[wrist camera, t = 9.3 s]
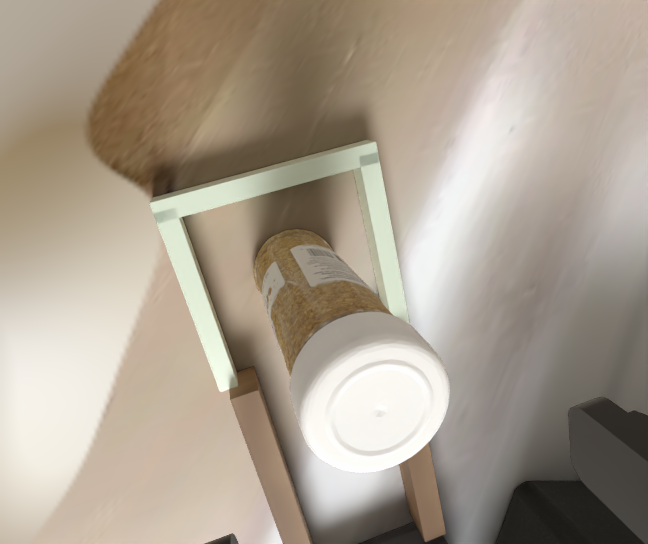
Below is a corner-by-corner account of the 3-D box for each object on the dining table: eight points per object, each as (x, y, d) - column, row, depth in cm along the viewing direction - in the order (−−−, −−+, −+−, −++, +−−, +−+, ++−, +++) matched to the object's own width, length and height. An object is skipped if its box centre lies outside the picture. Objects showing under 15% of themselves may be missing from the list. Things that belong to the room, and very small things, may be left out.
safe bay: (366, 139, 24) (375, 141, 23) (400, 317, 28) (410, 328, 27) (152, 197, 23) (149, 202, 21) (219, 377, 27) (219, 392, 25)
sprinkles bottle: (234, 271, 25) (265, 427, 12) (295, 208, 25) (387, 304, 12) (296, 322, 27) (376, 504, 14) (352, 264, 26) (484, 398, 14)
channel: (392, 320, 28) (409, 338, 26) (429, 504, 33) (446, 533, 31) (227, 374, 27) (230, 399, 24) (294, 558, 32) (301, 592, 30)
